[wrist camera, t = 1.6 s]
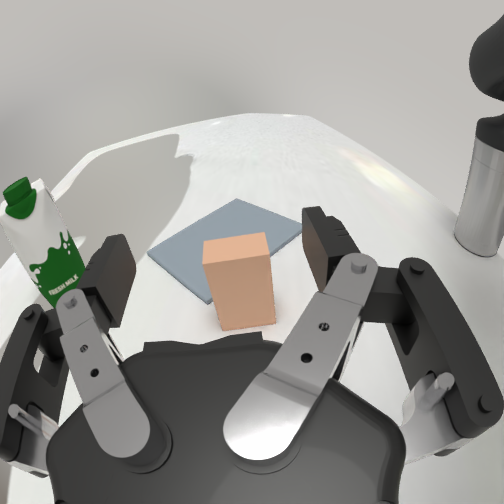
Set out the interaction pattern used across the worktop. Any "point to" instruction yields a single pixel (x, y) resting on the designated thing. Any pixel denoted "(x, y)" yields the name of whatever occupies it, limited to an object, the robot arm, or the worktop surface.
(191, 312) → the worktop surface
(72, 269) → the milk carton
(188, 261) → the mat
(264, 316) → the terracotta block
